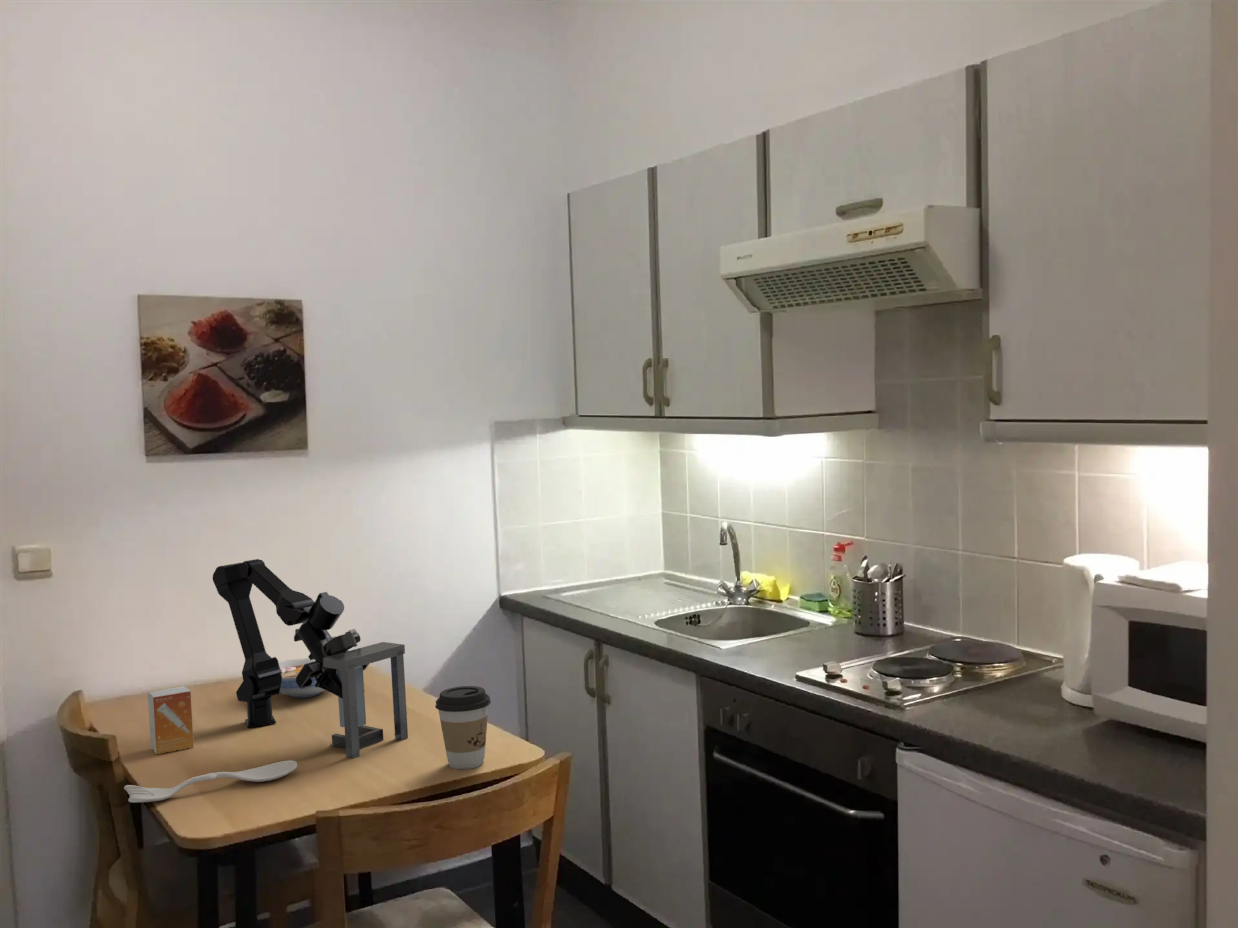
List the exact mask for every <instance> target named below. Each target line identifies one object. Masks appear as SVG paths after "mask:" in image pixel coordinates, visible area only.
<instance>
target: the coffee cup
mask: <svg viewBox="0 0 1238 928" xmlns="http://www.w3.org/2000/svg"><path fill="white" fill-rule="evenodd" d="M491 703H492V701H491V697H490V695H489V694H487V693H486V690H485V688H483V687H482V686H476V685H474V686H473V685H463V686H454V687H448V688H446V689H443V690H442V691H441V692H440V693H439V697H438V698H437V699H436V700H435V709H437V711H438V715H439V720H440V726H441V727H440V728H441V732H442V737H443V738H442V739H443V742H444V743H443V744H444V748H445V754H446V758H447V759H446V760H447V763H448V765H449V766H448V767H449V768H450V769H451V768H452V769H456V770H469V769H475V768H478V767H480V766H483V764H484V763H485V761H484V759H485V758H486V757H485V755H486V745H487V744H486V743H487V730H488V719H489V716H488V715H489V706H490V705H491Z"/></svg>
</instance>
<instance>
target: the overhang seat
mask: <svg viewBox="0 0 1238 928" xmlns="http://www.w3.org/2000/svg"><path fill="white" fill-rule="evenodd" d="M405 653H406V648H405V644H402V643H393V642H388V641H387V642H385V641H382V642H381V641H380V642H377V643H374V644H370V645H366V646H362V647H360V648H359V647H358V648H355V649H352V650H348V651H347V652H343V653H339V654H336V655H332V656H328V657H324V658H323V665H324V667H327V668H333V669H340V670H341V676H342V693H343V710H344V726H345V727H344V734H341V733H334V734H331V743H329V746H332V747H335V748H340V749H345V757H346V758H349V759H355V758H358V757H360V756H361V752H360V750H361V749H363V748H366V747H368V746H371V745H374V744H378V743H380V742H383V741H384V729H382V728H379V727H373V726H369V725H362V726H359V727H358V715H357V698H356V681H355V668H356V667H359V666H363V665H366V664H369V665H370V664H374V663H376V662H381V661H383V660H387V659H390V670H391V672H390V673H391V685H392V686H391V688H392V690H391V692H392V703H393V704H392V707H393V708H392V709H393V721H394V722H393V725H394V726H393V727H394V739H395V740H398V741H403V740H406V739H409V733H408V731H409V729H408V728H409V727H408V716H407V714H408V711H407V697H406V695H407V694H406V683H405V682H406V678H405V677H406V676H405V661H404V660H405V659H404V654H405Z"/></svg>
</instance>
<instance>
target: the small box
mask: <svg viewBox="0 0 1238 928" xmlns="http://www.w3.org/2000/svg"><path fill="white" fill-rule="evenodd" d="M191 693H192V692H191V690H190V689H189V688H188V687H186V685H182V686H177V687H170V688H169V687H168V688H165V689H164V688H163V689H161V690H160V689H159V690H153V691H152V690H151V691H148V692H147V702H148V705H147V706H148V720H149V721H148V722H149V736H150V738H149V739H150V748H152V749H153V750H154V751H153V750H152V749H151V750H152V751H153V752H154V754H155V755H161V754H166V752H167V753H170V752H171V753H172V752H177V751H176V750H178V751H183V749H184V750H188V749H187V748H189V749H194V748H193V747H195V746H194V743H195V742H194V728H193V727H194V725H193V709H192V708H193V707H192V694H191Z"/></svg>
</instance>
